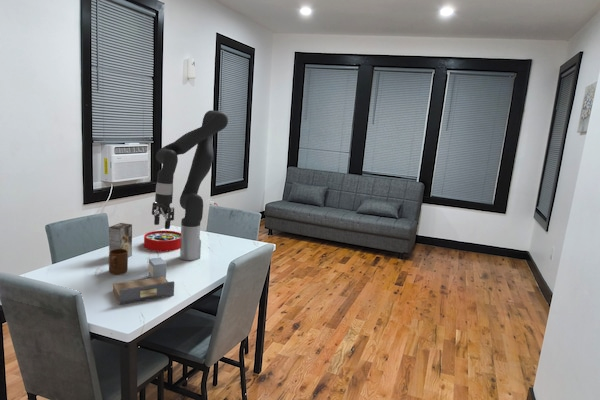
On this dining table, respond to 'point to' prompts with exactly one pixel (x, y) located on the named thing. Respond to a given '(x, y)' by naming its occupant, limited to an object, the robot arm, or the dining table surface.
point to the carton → (157, 268)
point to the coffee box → (121, 237)
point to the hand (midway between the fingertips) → (161, 226)
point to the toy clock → (162, 241)
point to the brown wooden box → (143, 290)
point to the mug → (118, 261)
